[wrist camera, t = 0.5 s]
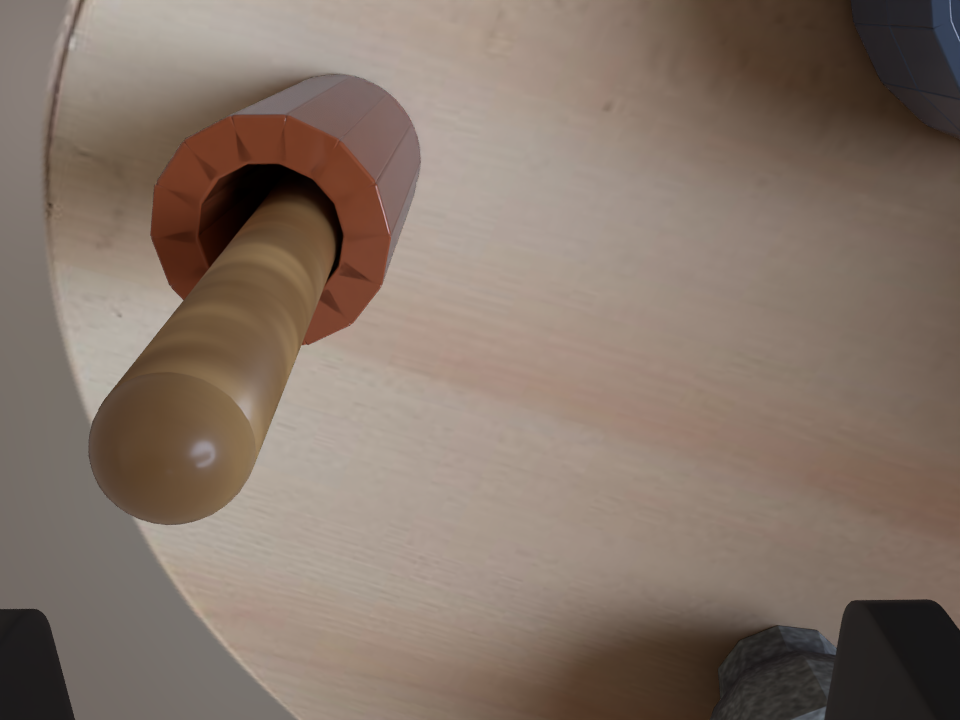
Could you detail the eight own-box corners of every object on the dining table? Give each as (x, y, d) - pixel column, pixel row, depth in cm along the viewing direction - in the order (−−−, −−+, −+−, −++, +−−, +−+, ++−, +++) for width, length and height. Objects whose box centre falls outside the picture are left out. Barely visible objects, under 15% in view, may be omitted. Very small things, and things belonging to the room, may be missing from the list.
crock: (232, 170, 33) (106, 257, 22) (322, 37, 32) (234, 59, 20) (360, 264, 35) (301, 389, 24) (453, 141, 33) (437, 215, 22)
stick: (293, 166, 32) (30, 501, 12) (329, 113, 32) (114, 376, 11) (347, 204, 33) (181, 584, 13) (383, 154, 32) (271, 473, 12)
